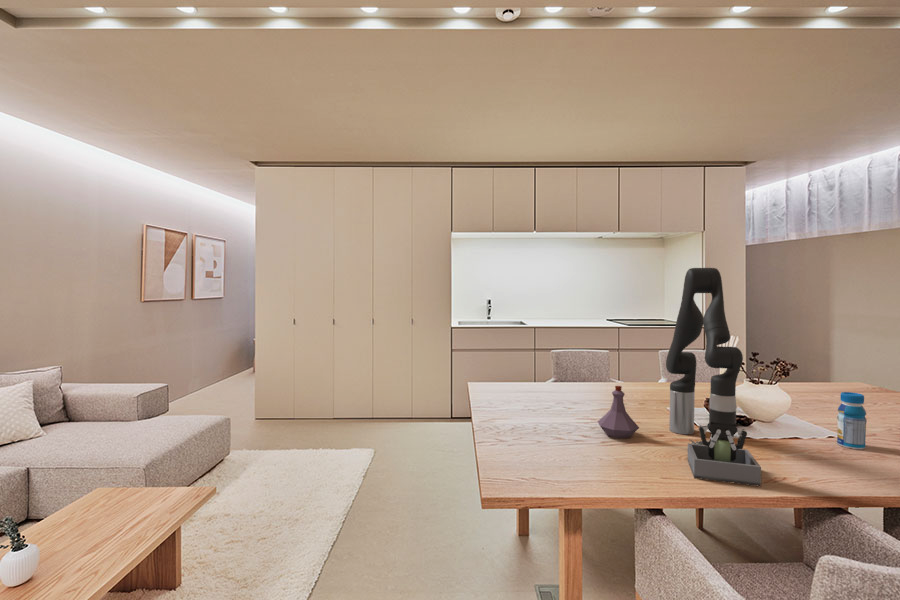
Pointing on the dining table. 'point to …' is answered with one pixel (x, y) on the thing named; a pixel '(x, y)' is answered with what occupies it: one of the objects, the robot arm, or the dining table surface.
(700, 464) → the bin
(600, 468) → the dining table surface
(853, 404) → the beverage bottle
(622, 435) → the flask
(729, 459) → the green capsule
